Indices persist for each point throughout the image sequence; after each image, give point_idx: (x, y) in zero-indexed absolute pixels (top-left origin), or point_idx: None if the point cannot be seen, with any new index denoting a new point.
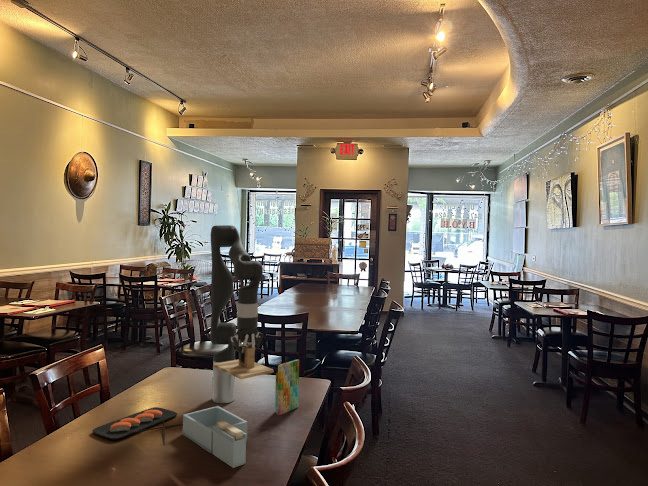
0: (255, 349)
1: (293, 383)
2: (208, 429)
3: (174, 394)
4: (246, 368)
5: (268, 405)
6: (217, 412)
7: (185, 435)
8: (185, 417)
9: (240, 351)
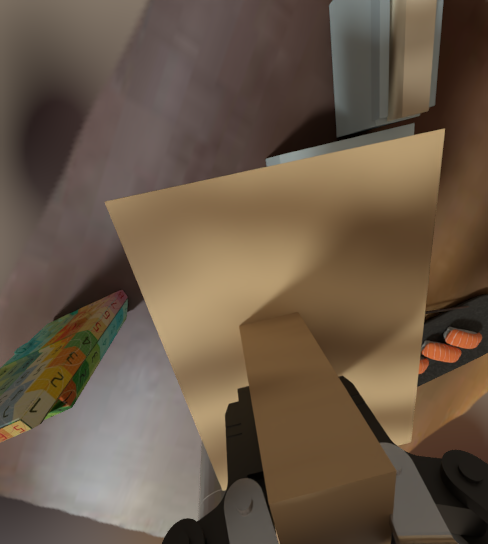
0: (211, 511)
1: (16, 367)
2: None
3: None
4: (302, 315)
5: (132, 359)
6: None
7: None
8: None
9: (417, 466)
